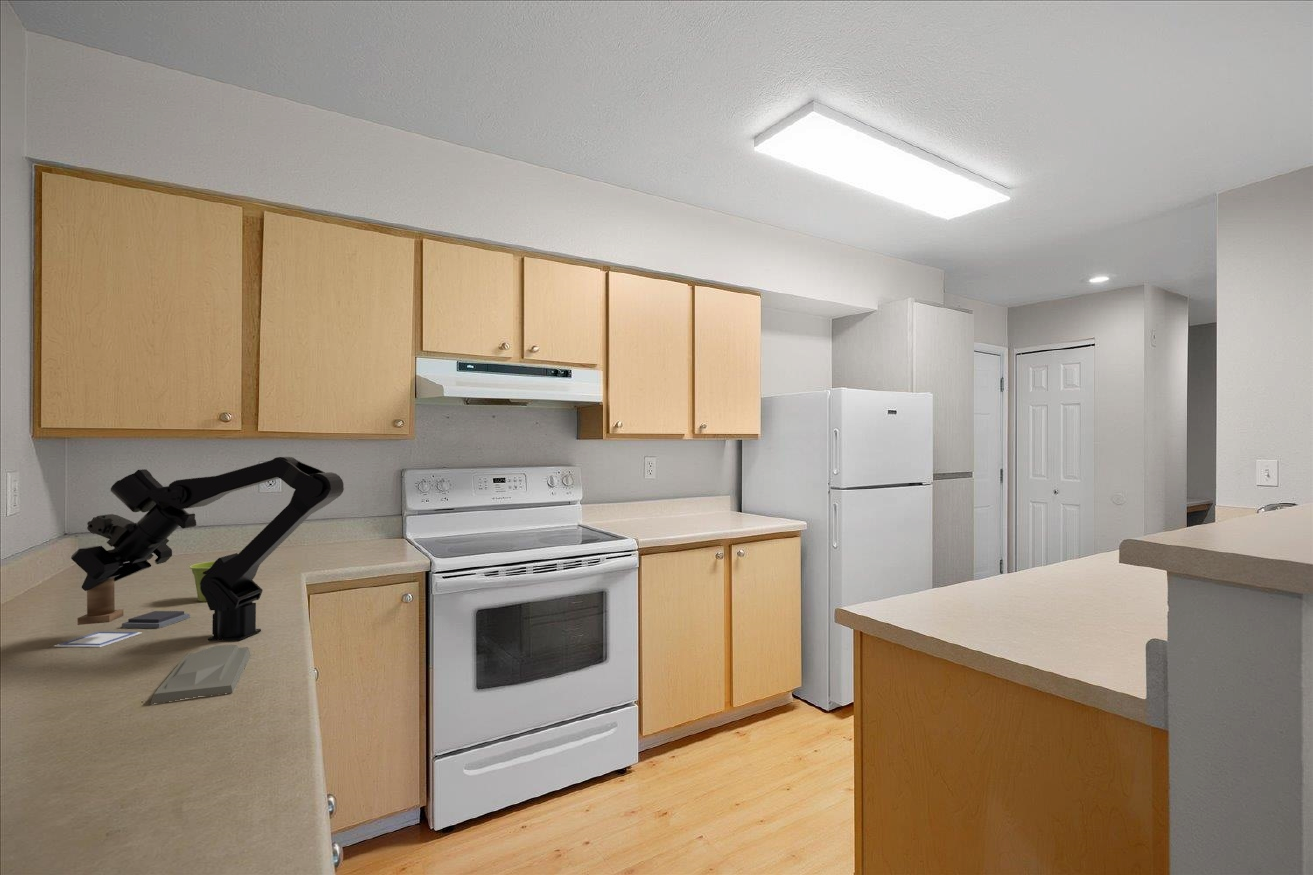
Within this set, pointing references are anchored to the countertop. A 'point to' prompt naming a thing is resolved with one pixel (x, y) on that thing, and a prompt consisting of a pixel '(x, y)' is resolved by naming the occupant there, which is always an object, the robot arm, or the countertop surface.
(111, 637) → the print card
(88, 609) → the stamp
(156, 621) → the ink pad
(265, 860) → the countertop surface
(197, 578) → the plant pot
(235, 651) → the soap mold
